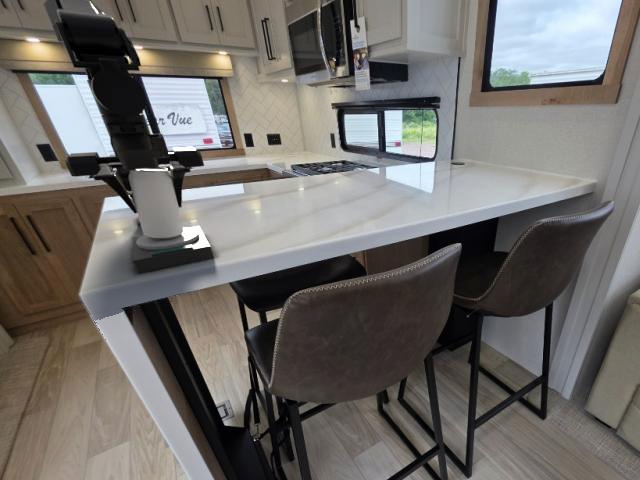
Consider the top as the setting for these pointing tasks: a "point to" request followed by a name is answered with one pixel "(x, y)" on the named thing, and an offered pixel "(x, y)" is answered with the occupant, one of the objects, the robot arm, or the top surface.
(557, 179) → the top surface
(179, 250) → the scale
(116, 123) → the robot arm
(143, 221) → the can
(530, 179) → the top surface
